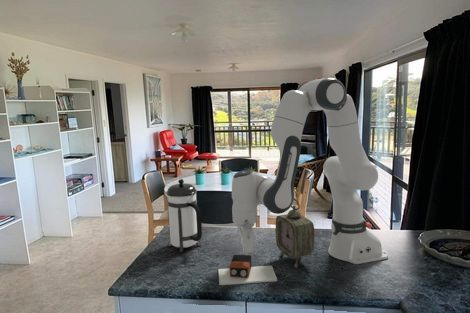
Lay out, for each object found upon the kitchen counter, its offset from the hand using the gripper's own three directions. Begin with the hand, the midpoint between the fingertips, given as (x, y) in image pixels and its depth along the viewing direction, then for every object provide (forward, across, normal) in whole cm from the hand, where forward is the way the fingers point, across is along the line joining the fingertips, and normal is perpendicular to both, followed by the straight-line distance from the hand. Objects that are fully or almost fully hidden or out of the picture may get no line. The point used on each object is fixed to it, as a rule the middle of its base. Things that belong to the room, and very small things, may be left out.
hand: (245, 252), depth 117 cm
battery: (+5, +5, +1) cm, 7 cm away
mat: (+8, -2, 0) cm, 8 cm away
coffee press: (+8, +26, +23) cm, 36 cm away
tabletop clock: (+8, +7, -20) cm, 23 cm away
